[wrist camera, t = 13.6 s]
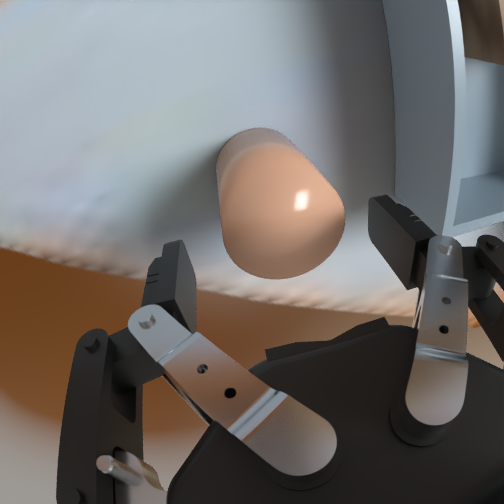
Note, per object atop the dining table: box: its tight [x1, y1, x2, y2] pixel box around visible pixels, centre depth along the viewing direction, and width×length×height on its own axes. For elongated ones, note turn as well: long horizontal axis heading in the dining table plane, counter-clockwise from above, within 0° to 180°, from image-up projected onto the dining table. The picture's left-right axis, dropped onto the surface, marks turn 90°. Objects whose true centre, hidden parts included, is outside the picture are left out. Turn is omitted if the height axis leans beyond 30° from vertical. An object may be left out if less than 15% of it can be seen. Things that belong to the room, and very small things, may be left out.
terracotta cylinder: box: [216, 128, 345, 279], centre depth 15 cm, size 5×5×7 cm
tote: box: [382, 0, 504, 237], centre depth 12 cm, size 18×14×6 cm
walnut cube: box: [458, 0, 504, 66], centre depth 10 cm, size 5×5×5 cm
